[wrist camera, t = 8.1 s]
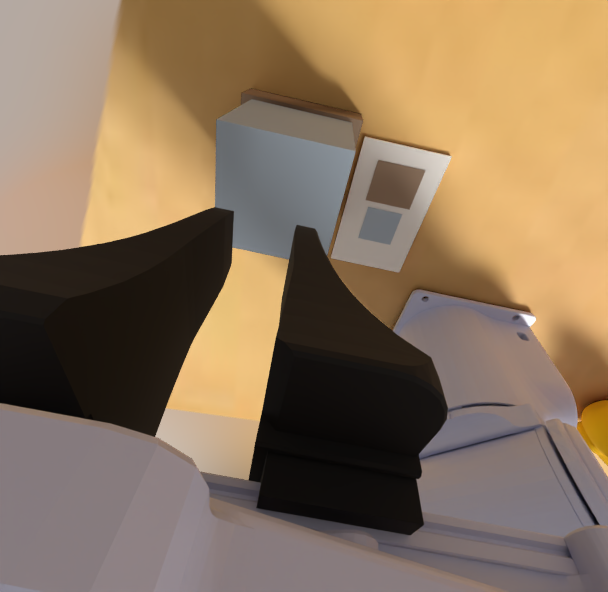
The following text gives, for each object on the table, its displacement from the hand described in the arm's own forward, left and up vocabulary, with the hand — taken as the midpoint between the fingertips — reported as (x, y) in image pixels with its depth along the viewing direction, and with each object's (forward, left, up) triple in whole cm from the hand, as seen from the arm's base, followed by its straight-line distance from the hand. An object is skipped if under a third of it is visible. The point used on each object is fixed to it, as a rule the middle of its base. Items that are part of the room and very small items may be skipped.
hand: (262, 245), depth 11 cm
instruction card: (-6, +2, -10) cm, 12 cm away
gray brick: (0, 0, -8) cm, 8 cm away
